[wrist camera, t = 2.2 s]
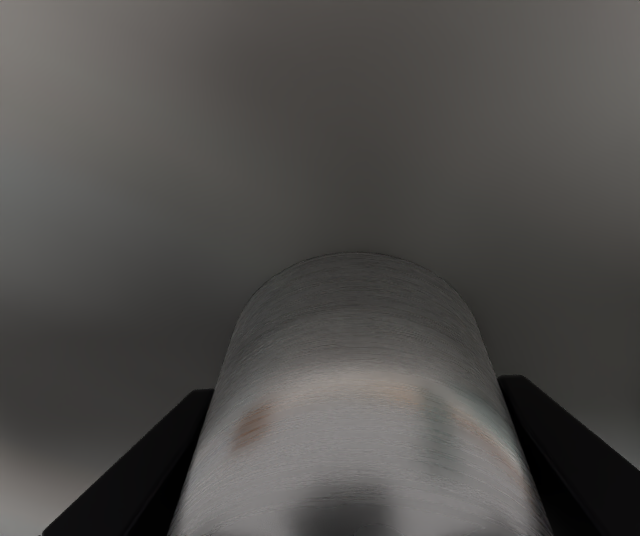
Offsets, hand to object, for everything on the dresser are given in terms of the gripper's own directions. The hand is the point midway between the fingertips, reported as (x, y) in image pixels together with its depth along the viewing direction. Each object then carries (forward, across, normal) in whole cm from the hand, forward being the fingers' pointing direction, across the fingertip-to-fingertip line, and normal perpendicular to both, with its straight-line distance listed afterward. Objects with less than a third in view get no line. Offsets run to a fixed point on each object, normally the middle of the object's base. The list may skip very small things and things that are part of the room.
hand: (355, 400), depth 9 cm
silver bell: (+1, 0, 0) cm, 1 cm away
